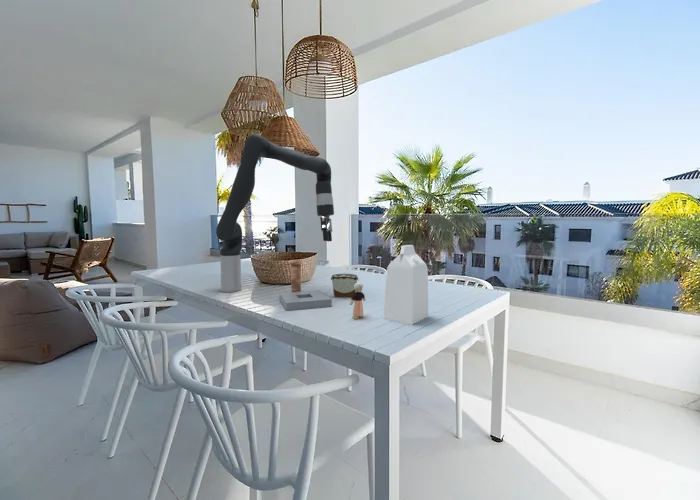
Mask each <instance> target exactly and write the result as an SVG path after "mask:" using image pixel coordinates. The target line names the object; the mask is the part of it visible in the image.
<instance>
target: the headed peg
mask: <svg viewBox="0 0 700 500" xmlns="http://www.w3.org/2000/svg"><path fill="white" fill-rule="evenodd" d="M302 264H303V259H290V260H289V265H290V290H291V292H301V291H302V280H301V279H302V277H301V274H302V273H301V272H302V271H301V269H302V268H301V267H302V266H301V265H302Z"/></svg>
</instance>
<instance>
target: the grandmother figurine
mask: <svg viewBox="0 0 700 500" xmlns="http://www.w3.org/2000/svg"><path fill="white" fill-rule="evenodd" d="M363 288H364V284H363V283H361V282H359V281H357V283H356V284H355V285H354V289H355V291H356V292H355V293H354V295H353V297H352V298H350V299H351V300H350V302H349V304H350V306H352V305H353V309H352V319H353V320H358V319H359V320H360V318H364V307H363V302H365V301H366V295H365V294H364V292H362V291H363Z"/></svg>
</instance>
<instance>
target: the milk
mask: <svg viewBox="0 0 700 500" xmlns="http://www.w3.org/2000/svg"><path fill="white" fill-rule="evenodd" d="M400 248H401V249H400V253H399V254H398V255H397V256H396V257H395V258H394V259H393V260H391V262H390V263H389V264H388V266H387V267H386V275H385V276H386V278H385V290H384V305H383V319H384V318H385V320H390V321H393V320H394V321H393V322H398V321H399V322H398V323H402V322H403V323H402V324H406V323H407V324H408V325H411V324H412V325H415V324H416V322H417V323H419V322H420V320H421V321H423V320H425V319H427V318H429V276H428V274H429V273H428V272H429V271H428V270H429V269H428V265H427V264H426V262H425V261H424V260H423V259H422V258H421V257H420V256H419V255H418V254H417V252H416V250H415V246H414V245H413V244H406V245H401V246H400ZM426 317H427V318H426ZM424 318H425V319H424ZM422 319H423V320H422ZM418 321H419V322H418ZM414 323H415V324H414ZM407 324H406V325H407Z"/></svg>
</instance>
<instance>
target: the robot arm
mask: <svg viewBox="0 0 700 500" xmlns="http://www.w3.org/2000/svg"><path fill="white" fill-rule="evenodd" d="M243 145H244V146H243V150H242V155H241V159H240V163H239V166H238V169H237V172H236V176H235V178H234V181H233V184H232V187H231V189H230V193H229V196H228V198H227V202H226V205H225V208H224V210H223V213H222V214H221V216H220V219H219V221H218V224H217V226H216V230H215V231H216V232H215V234H216V237H217V239H218V240H219V241H223V243H224V244H223V246H222V247H221V248H220V250H219V257H220V258H219V259H220V289H221V290H220V291H221V293H223V292H225V293H232V292H233V293H234V292H239V291H242V273H241V272H242V265H241V258H242V257H241V251H242V249H243V248H242V247H243V229H242V226H241V224H239V223H238V218H239V216H240V214H241V212H242V211H243V210H244V208H246V206H247V204H248V203H249V202H250V200H251V198H252V195H253V193H254V189H255V185H256V167H257V164H258V161H259V159H260V157H261V158H268V159H273V160H276V161H280V162H282V163H284V164H286V165H289V166H292V167H294V168H297V169H300V170H303V171H309V172H312V173H314V174H316V183H315V202H316V204H315V205H316V215H317V216H318V217H320V231H321V232H322V238H323V239H322V240H323V242H332V241H333V238H332V232H333V226H332V224H333V222H332V218H330V217H331V216H334V215H335V209H334V208H335V207H334V198H333V192H332V190H333V189H332V168H331V165H330V163H329V162H328V161H327V160H326V159H324V158H322V157H318V156H314V155H309V154H307V153H303V152H302V151H298V150H294V149H293V148H291V149H290V148H287V147H283V146H280V145H278V144H276V143H274V142H272V141H270V140H268V139H267V138H266V137H265V136H262V135H260V134H257V133H252V134H250V135H248V137H246V139H245V142H244V144H243Z"/></svg>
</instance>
